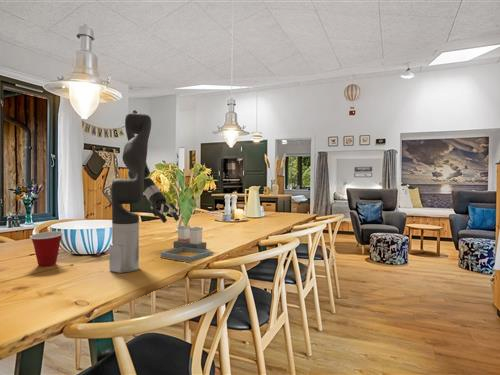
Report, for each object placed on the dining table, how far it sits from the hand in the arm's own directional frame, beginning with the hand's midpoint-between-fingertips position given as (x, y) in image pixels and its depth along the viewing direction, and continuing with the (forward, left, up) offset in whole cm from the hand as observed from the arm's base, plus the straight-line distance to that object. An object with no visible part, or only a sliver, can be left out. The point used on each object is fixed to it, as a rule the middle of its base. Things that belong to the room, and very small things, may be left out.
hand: (171, 220), depth 161 cm
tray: (-11, -19, -13) cm, 26 cm away
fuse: (0, -15, -12) cm, 19 cm away
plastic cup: (-50, +17, -13) cm, 54 cm away
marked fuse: (0, -8, -12) cm, 14 cm away
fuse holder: (0, -11, -13) cm, 17 cm away
